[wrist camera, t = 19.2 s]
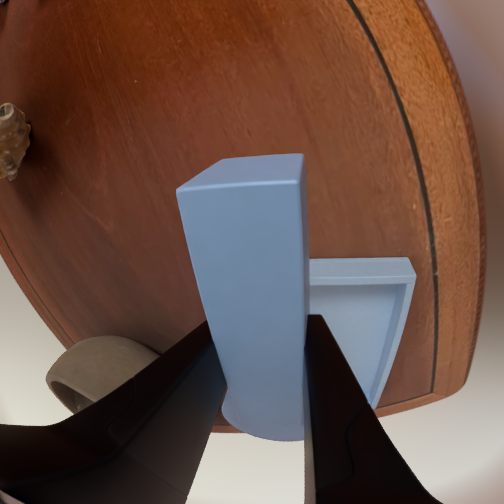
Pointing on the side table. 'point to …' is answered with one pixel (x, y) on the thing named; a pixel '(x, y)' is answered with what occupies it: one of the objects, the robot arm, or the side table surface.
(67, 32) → the side table surface
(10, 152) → the seashell
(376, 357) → the blue tray
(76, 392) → the bowl
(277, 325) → the blue spoon
